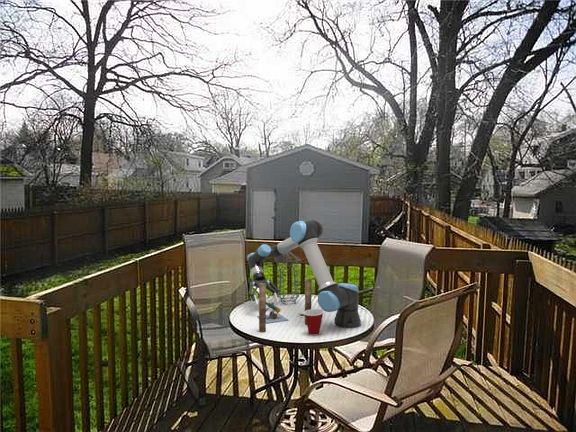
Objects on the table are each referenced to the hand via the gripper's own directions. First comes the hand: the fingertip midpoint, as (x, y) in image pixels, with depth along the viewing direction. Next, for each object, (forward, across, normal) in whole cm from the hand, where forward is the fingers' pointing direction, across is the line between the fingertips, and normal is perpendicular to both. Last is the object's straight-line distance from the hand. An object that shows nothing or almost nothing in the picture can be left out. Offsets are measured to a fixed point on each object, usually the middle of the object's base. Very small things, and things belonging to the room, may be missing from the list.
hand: (267, 304), depth 269 cm
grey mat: (+10, 0, 0) cm, 10 cm away
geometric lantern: (-11, -24, -21) cm, 34 cm away
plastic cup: (+33, -10, +24) cm, 42 cm away
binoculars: (+10, 0, +1) cm, 10 cm away
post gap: (+23, 0, +13) cm, 26 cm away
